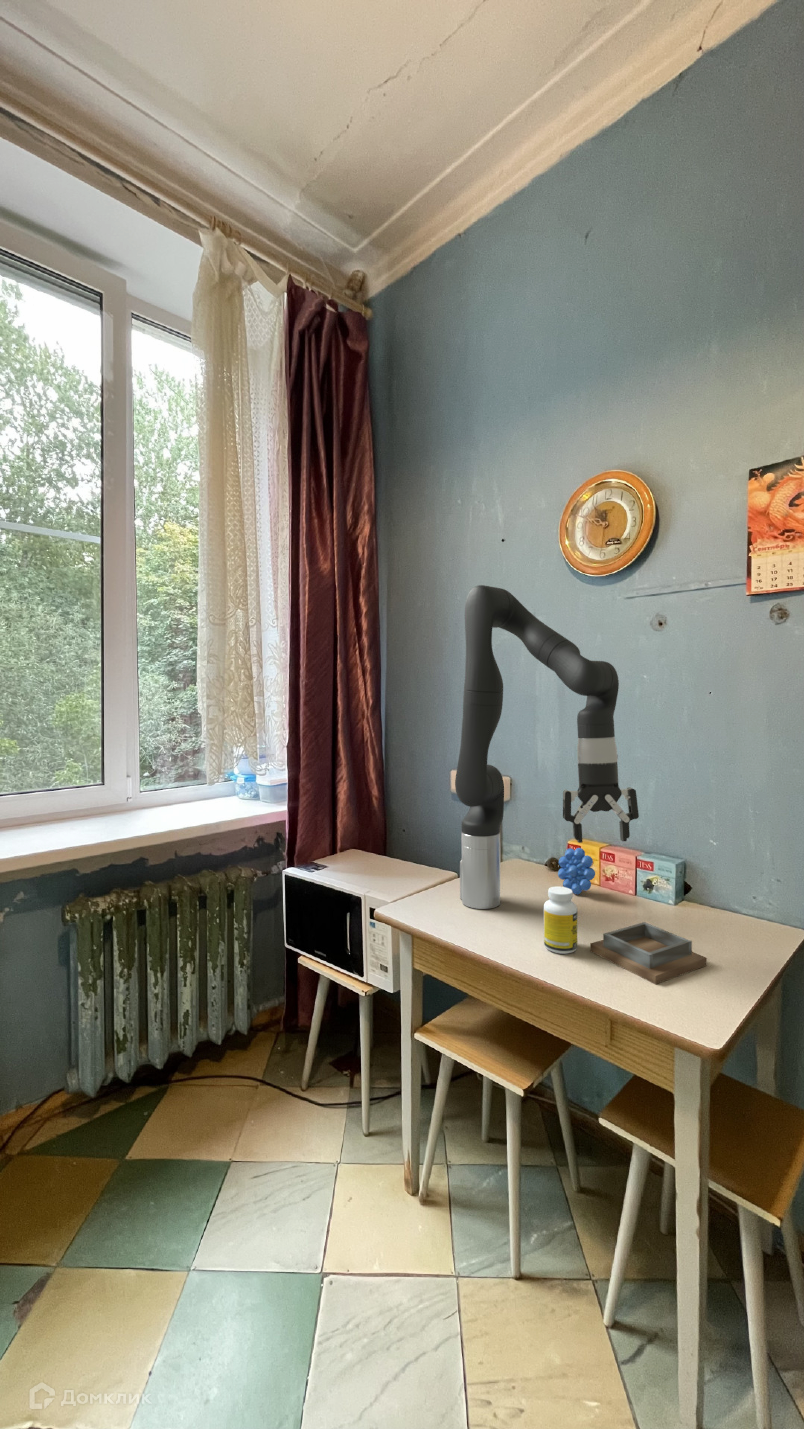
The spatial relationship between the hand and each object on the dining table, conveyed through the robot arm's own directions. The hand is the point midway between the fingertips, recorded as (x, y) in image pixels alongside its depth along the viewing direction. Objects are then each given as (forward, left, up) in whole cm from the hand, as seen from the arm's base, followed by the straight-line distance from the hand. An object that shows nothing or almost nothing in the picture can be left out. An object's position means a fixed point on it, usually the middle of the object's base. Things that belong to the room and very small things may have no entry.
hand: (601, 841), depth 117 cm
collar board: (+9, +3, -21) cm, 23 cm away
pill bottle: (-3, -8, -21) cm, 23 cm away
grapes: (-24, +18, -21) cm, 37 cm away
